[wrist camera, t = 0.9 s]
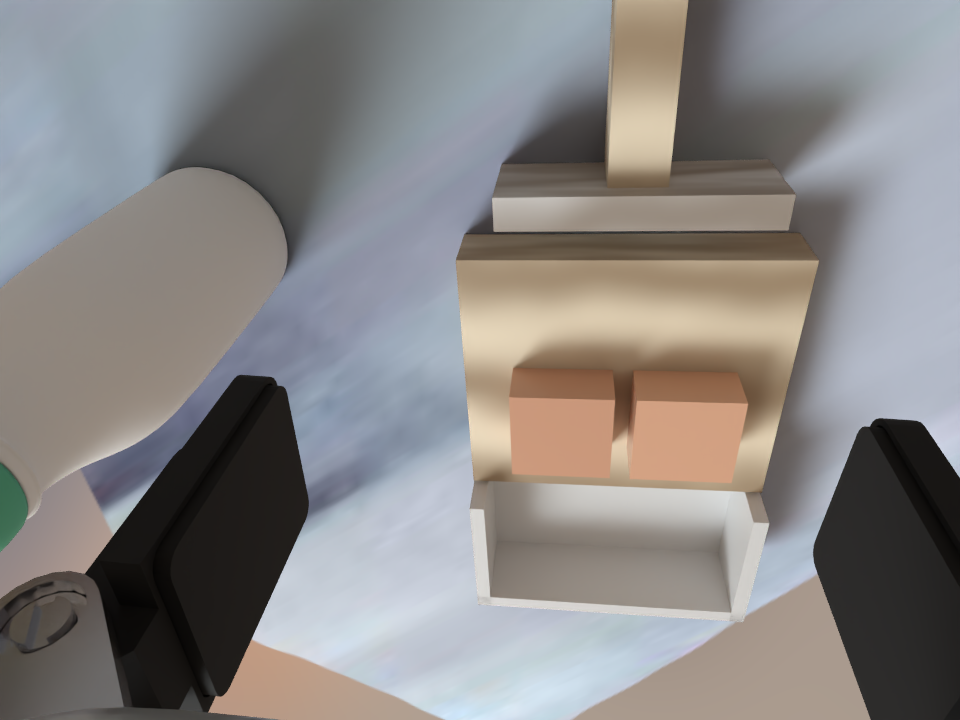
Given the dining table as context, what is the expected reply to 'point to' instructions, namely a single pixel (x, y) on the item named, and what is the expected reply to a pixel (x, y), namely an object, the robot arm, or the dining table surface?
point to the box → (617, 548)
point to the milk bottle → (126, 325)
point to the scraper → (643, 154)
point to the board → (631, 328)
